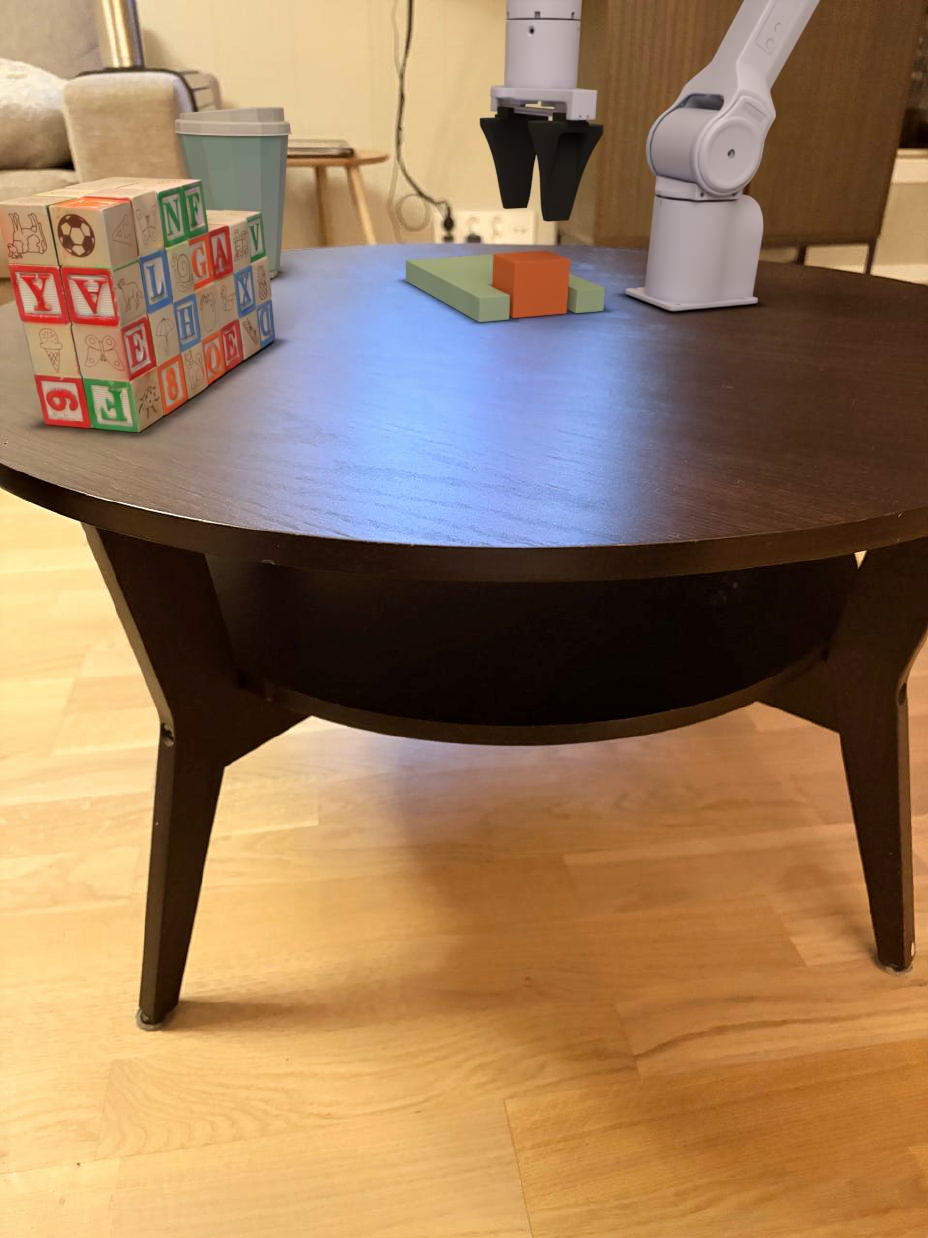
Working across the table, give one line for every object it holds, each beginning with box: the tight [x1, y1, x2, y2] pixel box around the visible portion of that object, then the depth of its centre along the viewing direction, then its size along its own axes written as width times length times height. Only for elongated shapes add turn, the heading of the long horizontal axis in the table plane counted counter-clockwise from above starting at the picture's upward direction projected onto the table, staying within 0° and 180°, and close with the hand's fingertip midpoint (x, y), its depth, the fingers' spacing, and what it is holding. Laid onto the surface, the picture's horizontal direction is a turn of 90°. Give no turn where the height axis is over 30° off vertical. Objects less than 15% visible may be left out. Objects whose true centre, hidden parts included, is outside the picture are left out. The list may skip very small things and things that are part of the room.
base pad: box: [405, 253, 606, 323], centre depth 86 cm, size 12×18×2 cm, turn 23°
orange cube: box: [492, 249, 571, 319], centre depth 80 cm, size 5×4×4 cm
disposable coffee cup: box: [174, 106, 292, 279], centre depth 90 cm, size 11×11×15 cm
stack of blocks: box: [0, 176, 276, 433], centre depth 60 cm, size 21×6×12 cm, turn 168°
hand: (534, 214), depth 78 cm, fingers open, 7 cm apart
